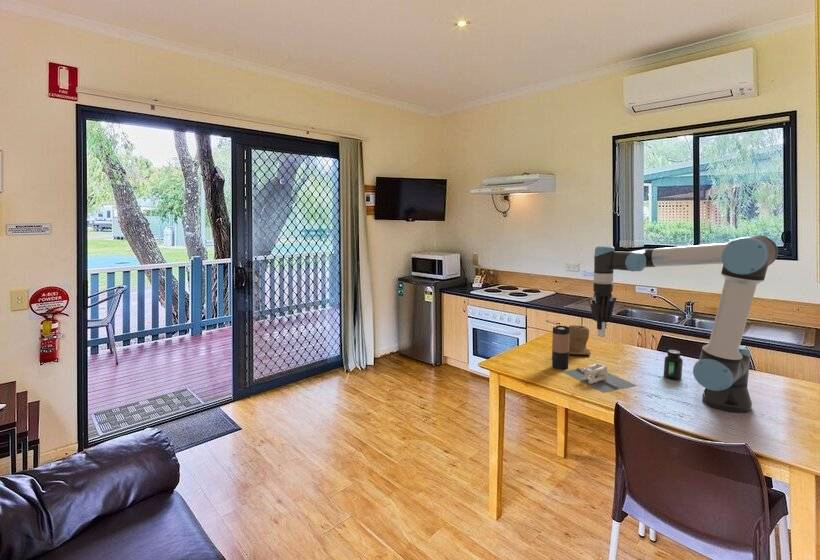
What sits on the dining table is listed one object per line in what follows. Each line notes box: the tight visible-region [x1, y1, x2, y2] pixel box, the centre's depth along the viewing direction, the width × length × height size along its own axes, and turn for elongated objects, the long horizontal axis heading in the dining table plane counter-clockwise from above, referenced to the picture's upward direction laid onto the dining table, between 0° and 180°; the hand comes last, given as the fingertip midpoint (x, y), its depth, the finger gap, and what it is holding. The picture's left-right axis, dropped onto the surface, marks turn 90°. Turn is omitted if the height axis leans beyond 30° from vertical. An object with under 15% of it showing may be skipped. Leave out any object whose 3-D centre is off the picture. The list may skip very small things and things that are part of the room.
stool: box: [581, 361, 608, 384], centre depth 187 cm, size 6×6×9 cm
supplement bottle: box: [663, 349, 684, 381], centre depth 189 cm, size 7×7×12 cm
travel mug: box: [551, 325, 570, 371], centre depth 204 cm, size 8×8×20 cm
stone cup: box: [568, 324, 592, 356], centre depth 225 cm, size 15×12×15 cm
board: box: [561, 367, 638, 394], centre depth 190 cm, size 26×18×1 cm
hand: (601, 336), depth 185 cm, fingers closed
